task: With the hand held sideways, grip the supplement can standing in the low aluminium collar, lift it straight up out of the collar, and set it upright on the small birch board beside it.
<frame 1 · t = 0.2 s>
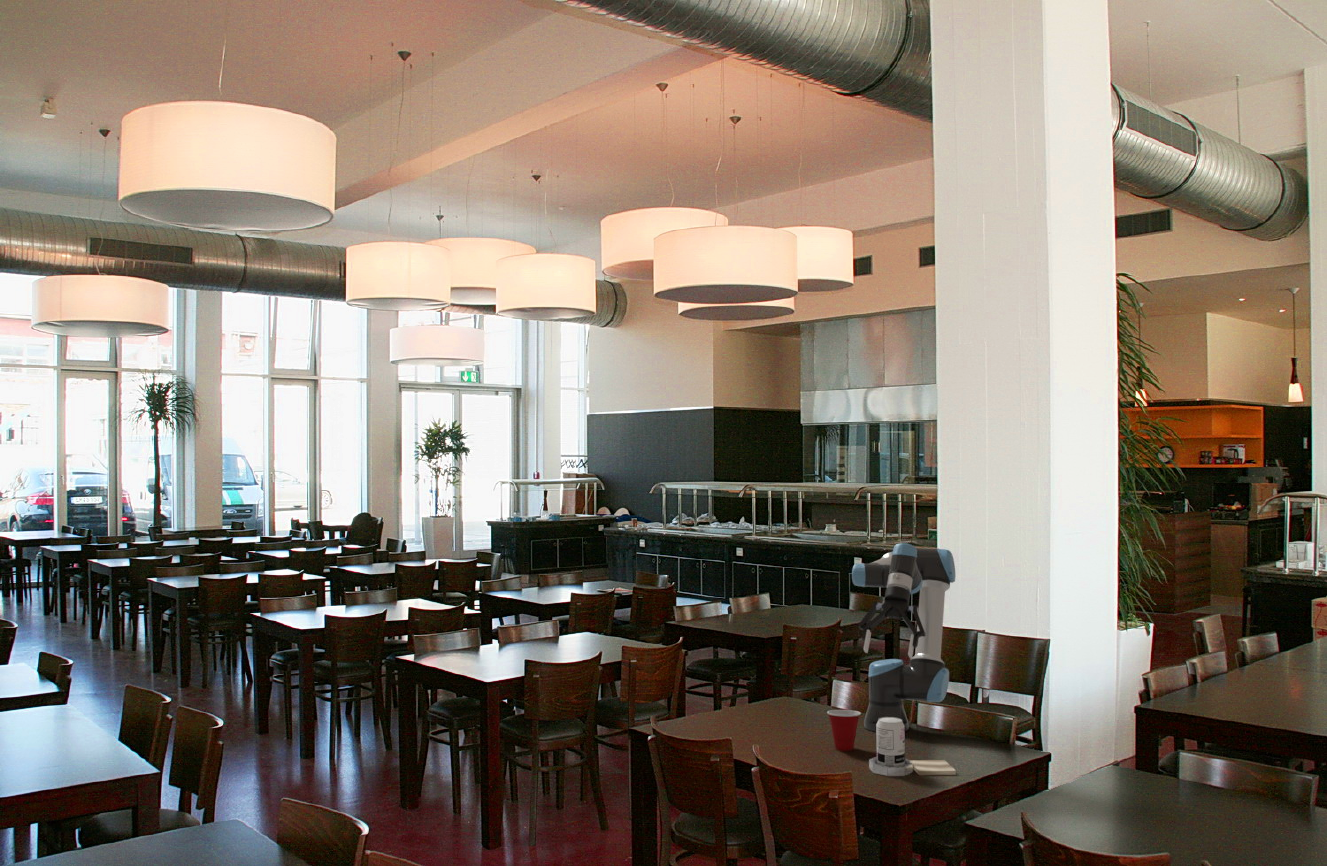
hand: (887, 653, 315), 34 cm above the table, tool tilted 35°, fingers open, 13 cm apart
supplement can: (890, 770, 313), resting in collar
board: (932, 769, 313), on the table
plastic cup: (844, 749, 337), on the table
collar: (890, 770, 313), on the table
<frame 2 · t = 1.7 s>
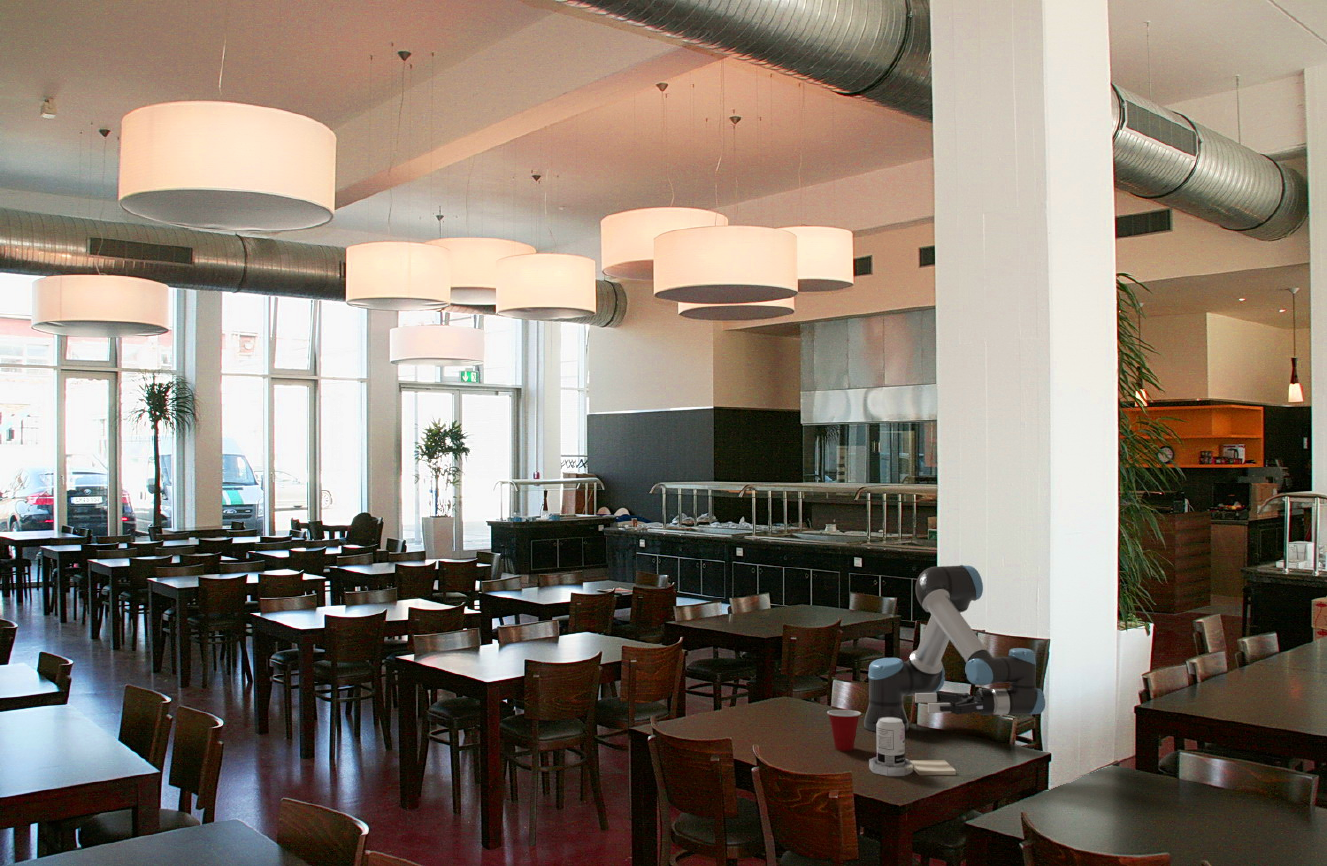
hand: (921, 702, 314), 20 cm above the table, tool horizontal, fingers open, 13 cm apart
nothing on the table moved.
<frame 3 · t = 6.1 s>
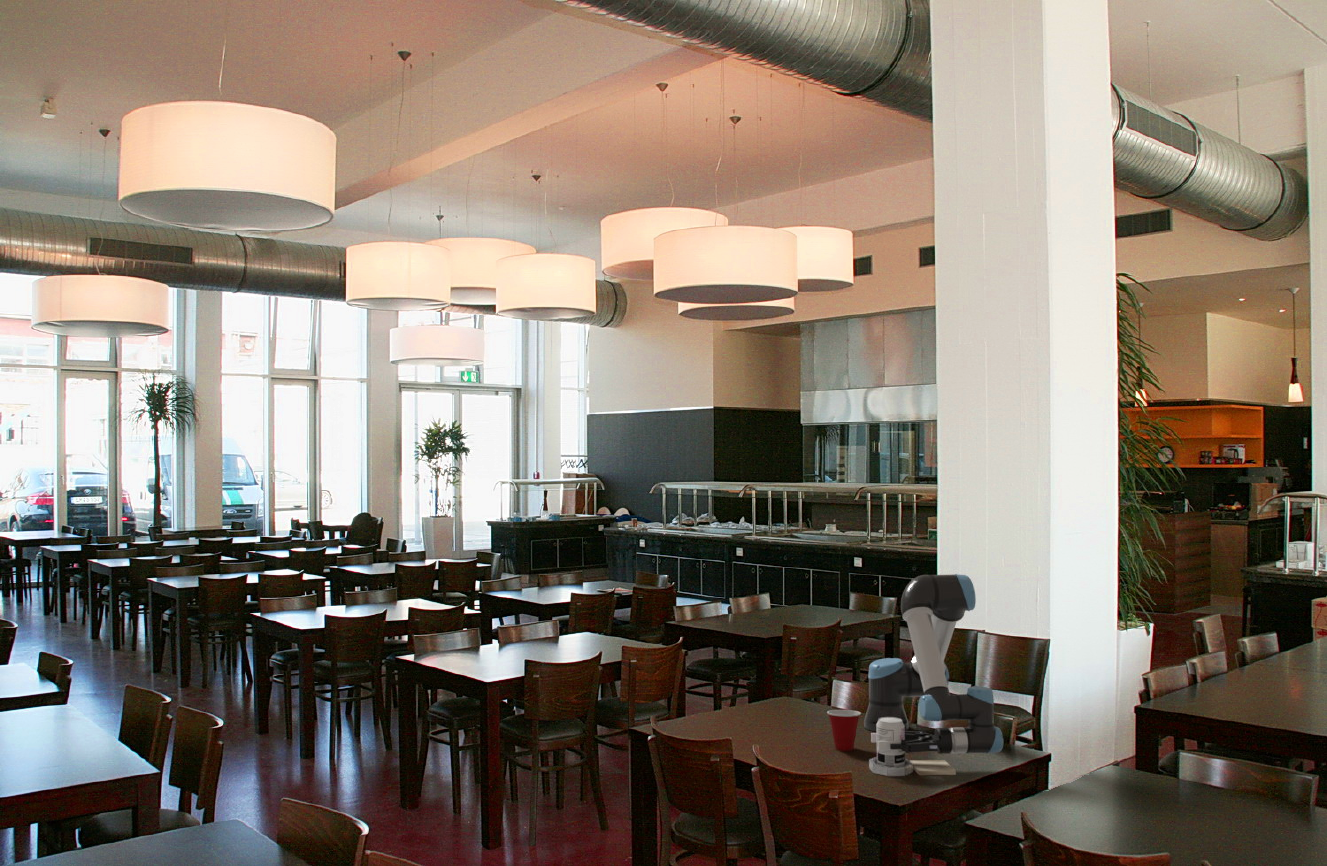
hand: (875, 741, 313), 9 cm above the table, tool horizontal, fingers closed on supplement can, 8 cm apart
supplement can: (890, 770, 313), resting in collar, touching gripper
everything else where it was.
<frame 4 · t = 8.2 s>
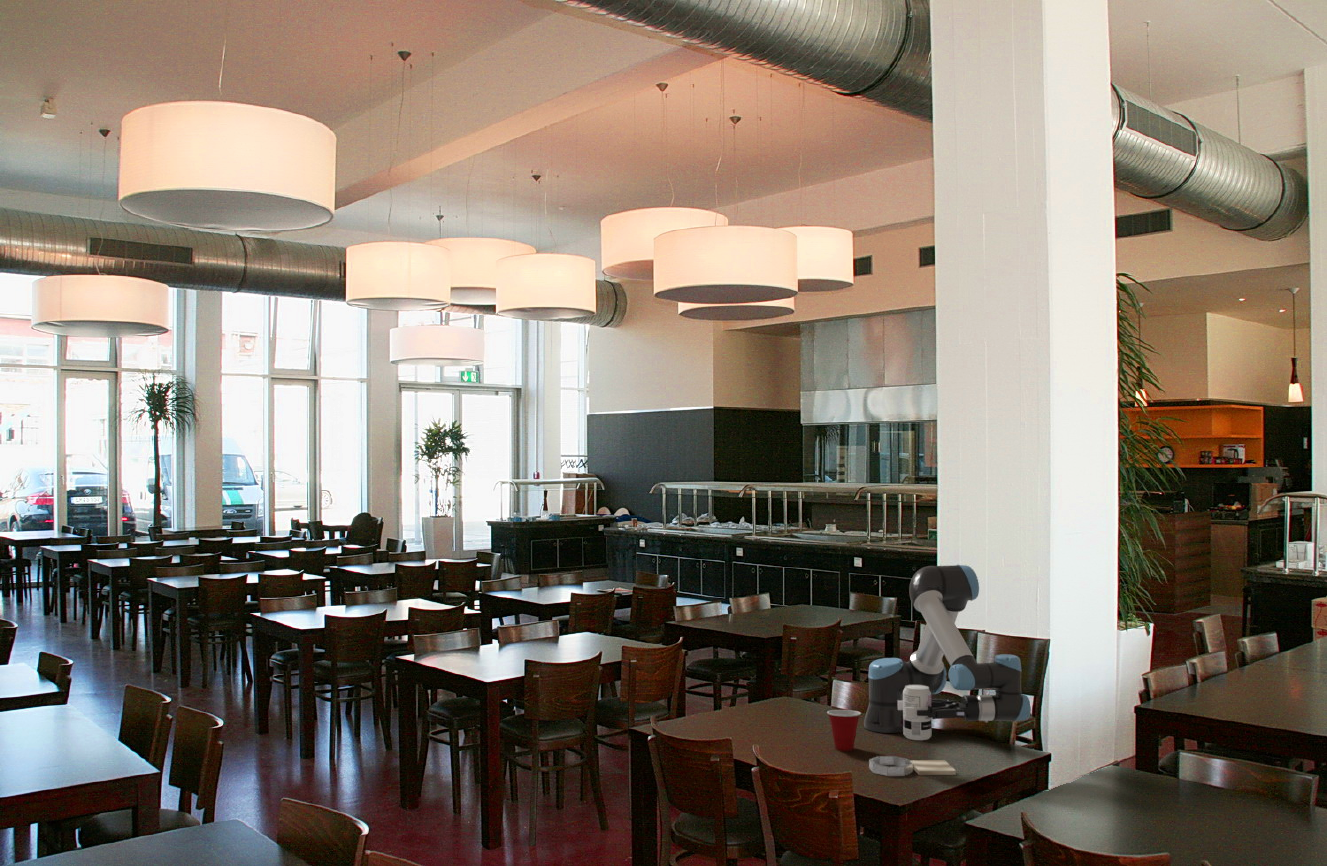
hand: (901, 708, 314), 18 cm above the table, tool horizontal, fingers closed on supplement can, 8 cm apart
supplement can: (917, 737, 313), point 10 cm above the table, touching gripper
everything else where it was.
when the fingers open (11 cm above the table, at t = 10.6 s): supplement can drops 1 cm, resting on board.
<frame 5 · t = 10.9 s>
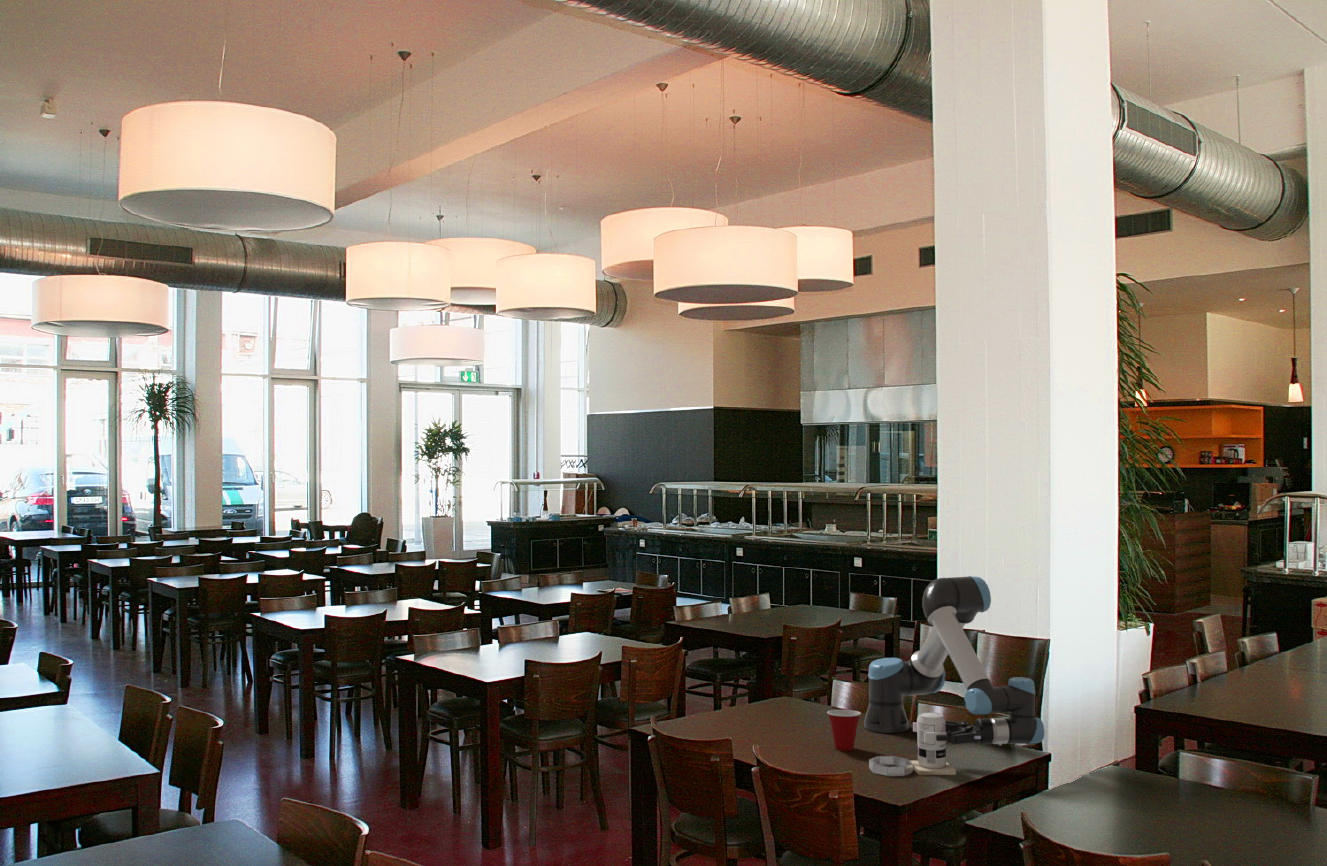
hand: (918, 732, 314), 11 cm above the table, tool horizontal, fingers open, 11 cm apart
supplement can: (932, 765, 313), point 1 cm above the table, touching board
everything else where it was.
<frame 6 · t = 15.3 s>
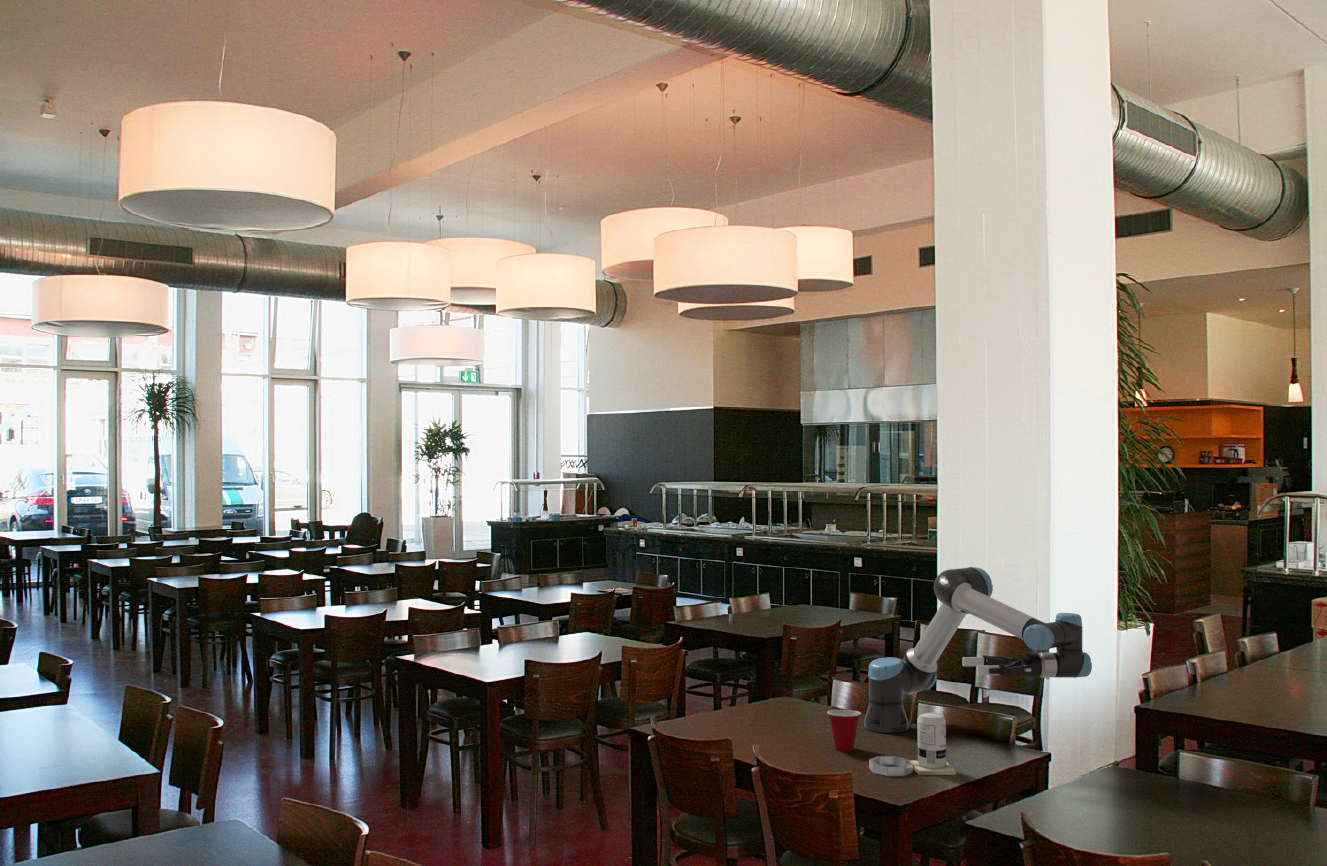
hand: (969, 666, 319), 30 cm above the table, tool horizontal, fingers open, 13 cm apart
nothing on the table moved.
at the end: supplement can inside the target area on the board (0.0 cm from its centre), point 1.0 cm above the board's base; supplement can tilted 0°; the gripper is holding nothing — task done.
